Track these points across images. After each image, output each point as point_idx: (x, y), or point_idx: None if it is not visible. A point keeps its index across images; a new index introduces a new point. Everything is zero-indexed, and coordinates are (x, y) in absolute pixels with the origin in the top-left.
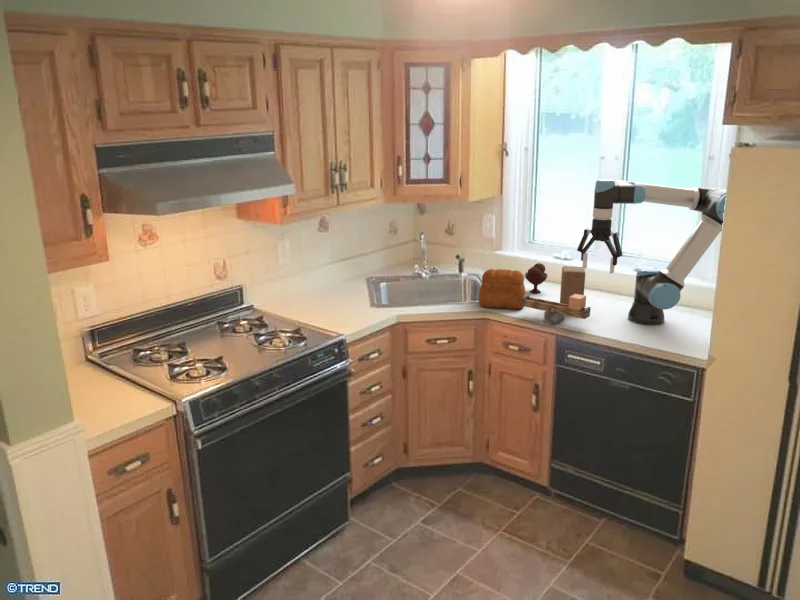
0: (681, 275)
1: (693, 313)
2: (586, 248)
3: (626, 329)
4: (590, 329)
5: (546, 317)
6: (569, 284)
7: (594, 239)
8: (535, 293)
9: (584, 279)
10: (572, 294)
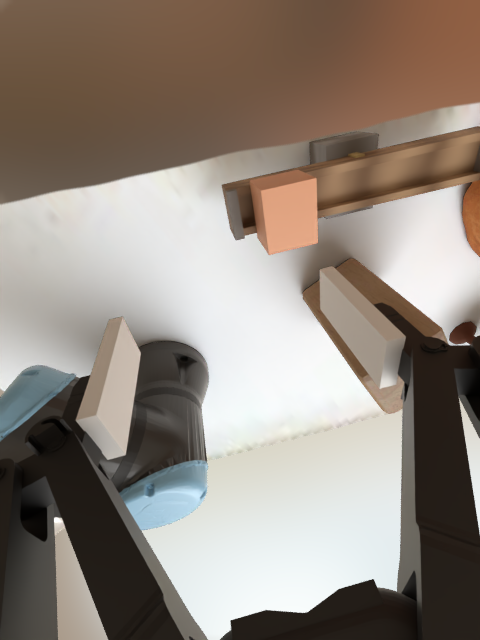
0: None
1: None
2: (420, 395)
3: (141, 286)
4: (208, 202)
5: (358, 134)
6: None
7: (416, 589)
8: (459, 325)
9: (347, 359)
10: None
